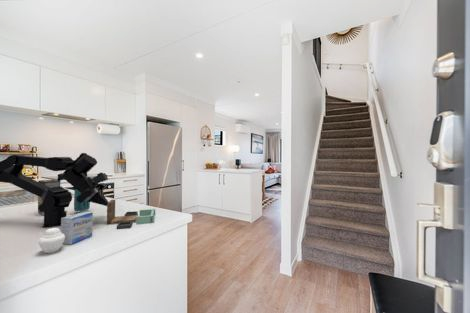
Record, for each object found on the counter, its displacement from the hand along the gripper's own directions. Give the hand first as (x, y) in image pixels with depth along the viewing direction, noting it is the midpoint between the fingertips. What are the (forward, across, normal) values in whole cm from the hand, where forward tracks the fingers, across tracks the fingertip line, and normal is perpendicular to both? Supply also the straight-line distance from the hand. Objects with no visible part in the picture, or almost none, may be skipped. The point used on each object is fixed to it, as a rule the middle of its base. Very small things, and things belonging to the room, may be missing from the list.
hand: (108, 205), depth 89 cm
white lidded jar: (-1, -25, +12) cm, 28 cm away
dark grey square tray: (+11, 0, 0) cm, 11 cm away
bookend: (+9, 0, +1) cm, 9 cm away
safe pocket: (+16, 0, -5) cm, 17 cm away
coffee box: (-17, +22, +27) cm, 39 cm away
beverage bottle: (-6, +20, +17) cm, 27 cm away
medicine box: (+2, -18, +9) cm, 20 cm away
